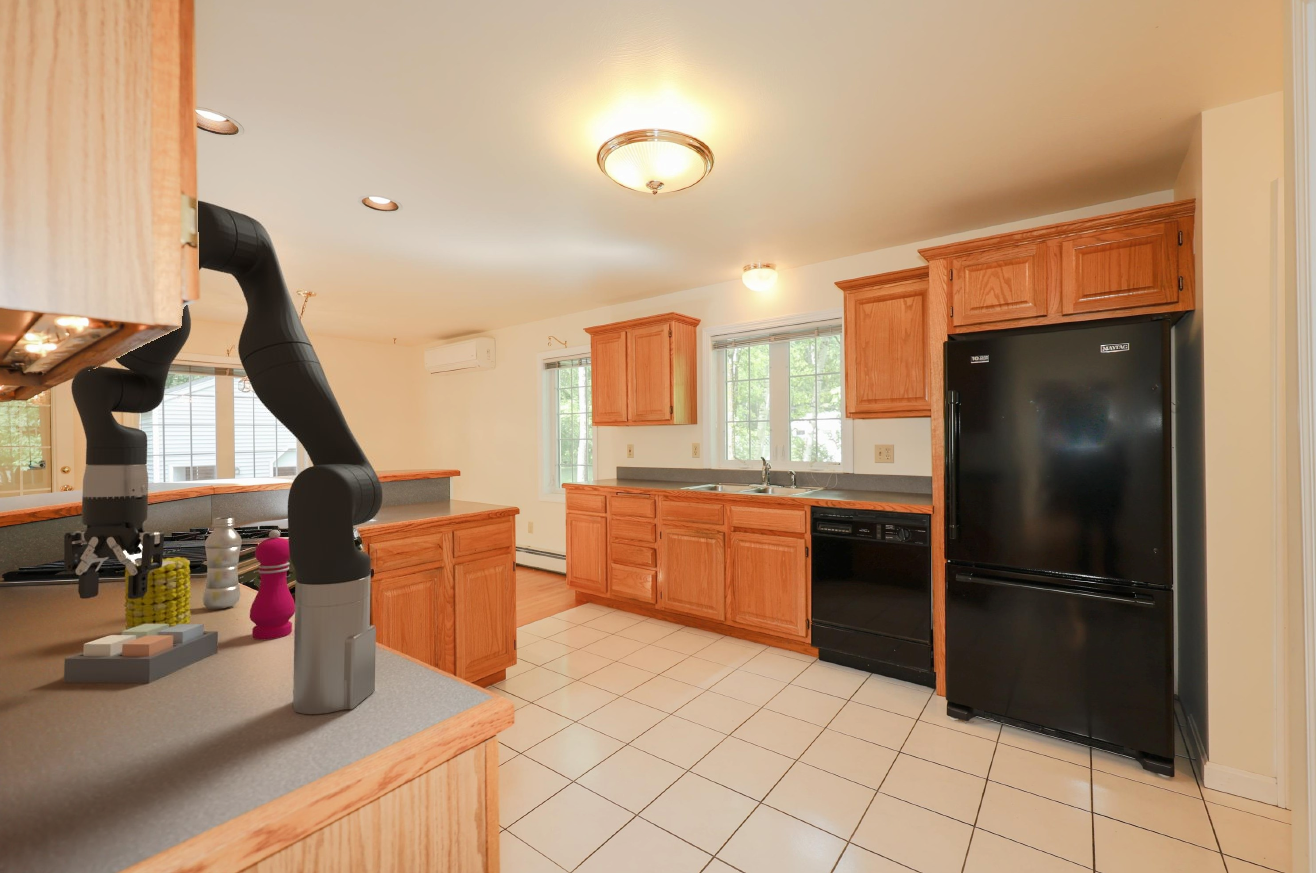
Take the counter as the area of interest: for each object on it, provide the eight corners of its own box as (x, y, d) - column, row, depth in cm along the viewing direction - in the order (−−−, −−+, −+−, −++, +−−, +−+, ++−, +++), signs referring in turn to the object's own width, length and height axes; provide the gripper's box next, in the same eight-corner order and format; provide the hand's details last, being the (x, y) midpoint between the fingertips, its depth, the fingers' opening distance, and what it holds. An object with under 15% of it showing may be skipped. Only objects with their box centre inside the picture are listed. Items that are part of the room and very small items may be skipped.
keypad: (217, 652, 98) (217, 631, 98) (149, 682, 85) (149, 658, 85) (143, 651, 98) (143, 630, 98) (63, 682, 85) (64, 658, 85)
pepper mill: (303, 629, 110) (305, 527, 111) (275, 641, 103) (277, 532, 104) (269, 628, 111) (272, 526, 112) (239, 640, 104) (241, 532, 104)
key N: (135, 655, 90) (136, 635, 90) (110, 665, 86) (110, 644, 86) (109, 655, 90) (110, 634, 90) (83, 665, 86) (83, 643, 86)
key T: (172, 655, 90) (173, 635, 90) (148, 665, 86) (149, 644, 86) (146, 655, 90) (147, 635, 90) (121, 665, 86) (122, 644, 86)
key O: (203, 643, 96) (203, 623, 96) (182, 651, 92) (182, 631, 92) (178, 643, 96) (179, 623, 96) (156, 651, 92) (157, 631, 92)
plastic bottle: (210, 605, 127) (212, 517, 128) (245, 602, 129) (247, 516, 130) (196, 612, 121) (198, 520, 122) (233, 610, 123) (235, 519, 124)
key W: (168, 643, 96) (169, 623, 96) (146, 651, 92) (146, 631, 92) (144, 642, 96) (144, 623, 96) (120, 651, 92) (121, 631, 92)
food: (194, 629, 115) (171, 648, 105) (123, 622, 111) (93, 641, 101) (215, 556, 116) (195, 568, 106) (145, 546, 112) (118, 558, 102)
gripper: (45, 494, 85) (41, 603, 85) (138, 495, 85) (135, 604, 85) (95, 491, 93) (92, 591, 93) (181, 491, 93) (178, 592, 92)
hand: (113, 597), depth 89 cm, fingers open, 7 cm apart
